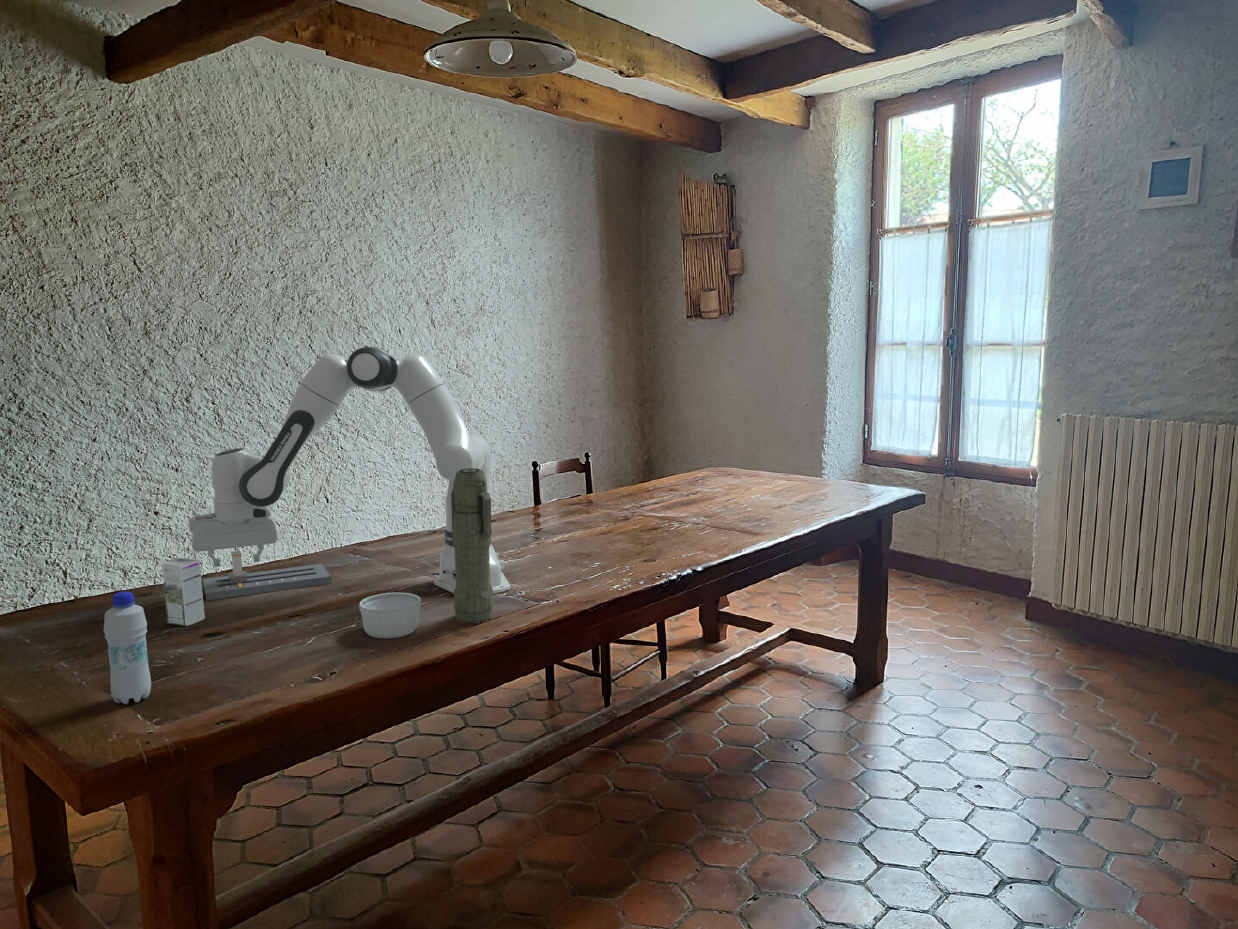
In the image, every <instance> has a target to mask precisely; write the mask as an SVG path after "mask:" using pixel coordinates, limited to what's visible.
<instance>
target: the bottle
mask: <svg viewBox="0 0 1238 929" xmlns="http://www.w3.org/2000/svg"><path fill="white" fill-rule="evenodd" d="M111 602H112V608H110V609H108V610H106V611H105V613H104V625H103V632H104V639H105V640H106V641H107V651H108V661H109V668H110V669H109V670H110V673H109V674H110V679H109V680H110V681H109V683H110V693H111V698H112V699H113V701H114V702H115V703H116V704H121V703H122V704H123V705H128V704H129V703H130V699H133V701H134V703H139V702H140V701H141V700H142V699H143V700H146V699H147V698H148V697H149V695H150V693H151V688H152V679H151V673H150V668H149V667H150V666H149V659H148V658H149V657H148V648H147V637H146V635H147V632H148V629H147V626H148V622H147V619H146V615H145V612H144V611H145V610H144V607H143V606H140V605H138V604H136V603H135V595H134V593H132V592H131V591H120V592H116V593H115V594H113V596H112V598H111Z"/></svg>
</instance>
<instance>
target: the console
mask: <svg viewBox="0 0 1238 929" xmlns="http://www.w3.org/2000/svg"><path fill="white" fill-rule="evenodd" d="M246 574H247V582H240V583H232V584H231V583H230V580H229V575H223V576H222V575H221V576H215V577H206V578H202V582H203V583H202V585H203V586H202V587H203V590H204V594H205V595H206V596H205V595H204V596H205V599H206V601H213V600H221V598H222V599H228V598H227V597H229V598H236V597H241V596H240V595H244V596H251V595H257V594H258V595H259V594H265V593H271V592H278V591H279V592H280V591H287V590H292V589H293V590H294V589H300V588H308V587H315V586H322V585H331V584H332V575H331V574H330V573H329V571H328V570H327V569H326V568H325V566H324V565H323V563H318V564H311V565H310V564H309V565H304V566H294V567H287V568H278V569H271V570H262V571H255V572H246ZM235 596H236V597H235Z"/></svg>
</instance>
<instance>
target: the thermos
mask: <svg viewBox="0 0 1238 929" xmlns="http://www.w3.org/2000/svg"><path fill="white" fill-rule="evenodd" d="M453 488H454V489H453V491H452V493H451V510H452V543H453V547H454V549H455V572H456V587H455V590H454V593H453V608H454V611H455V616H454V619H455V621H456V620H457V621H456V622H458V621H459V622H458V623H460V622H463V623H462V624H465V623H477V624H479V623H478V622H483V621H486V620H488V619H491V618H492V619H493V617H492V616H494V615H493V608H494V594H493V589H492V586H491V584H490V556H489V547H490V545H492V534H493V532H492V499H491V496H490V493H489V492H488V493H487V481H486V478H485V475H484V472H483V471H481V470H480V469H474V468H469V469H461V470H460V471H458V472H457V473H456V476H455V479H454V483H453ZM492 619H491V620H492ZM486 622H487V621H486ZM483 623H484V622H483Z"/></svg>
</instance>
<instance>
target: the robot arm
mask: <svg viewBox="0 0 1238 929" xmlns="http://www.w3.org/2000/svg"><path fill="white" fill-rule="evenodd" d="M357 387H358V388H362V389H364V390H366V391H369V392H385V391H387V390H389V389H391V388H392V387H393V388H395V389H396V390H397V391H398V392H399V393H400V395H401V396H402V398H403V399H404V401H405V403H406V404H407V406H408V407H409V409H410V411H411V413H412V414H413V416H414V418H415V419H416V421H417V422H418V424H419V426H420V427H421V429H422V431H423V432H424V435H425V437H426V440H427V443H428V445H429V447H430V450H431V452H432V454H433V457H434V459H435V462H436V463H435V466H436V468H437V471H438V474H440V475H441V477H442V478H444V479H446V480H447V481H448V485H447V492H446V497H445V502H444V503H445V529H444V543H445V545H444V548H443V549H442V551H441V552H440V553H439V577H438V578H436V579H434V581H433V584H434V585H435V586H437V587H439V588H441V589H444V590H446V591H447V592H450V593H452V594H454V590H455V587H456V572H455V549H454V547H453V543H452V510H451V493H452V491H453V489H454V488H453V483H454V479H455V476H456V473H457V472H458V471H460V470H461V469H469V468H474V469H480V470H481V471H483V472H484V475H485V478H486V481H487V493H489V487H490V486H489V485H490V476H491V459H492V448H491V446H490V443H489V442H488V441H487V440H486V439H485V438H484V437H482V436H480V435H477V434H473V433H469V430H468V429H467V426H466V423H465V421H464V419H463V416H462V411H461V408H460V407H459V405H458V403H457V402H456V400H455V398H454V396H453V395H452V394H451V392H450V390H449V388H448V387H447V385H446V383H445V382H444V381H443V379H442V378H441V377H440V375H439V373H438V372H437V371H436V369H435V368H434V367H433V365H432V364H430V362H429V360H427V359H426V358H425V357H424V356H423V355H421V354H416V353H415V354H414V353H413V354H408V355H405V356H403V357H401V358H398V359H396V358H395V357H394V356H391V355H390V354H389V353H387V352H386V351H385V350H383V349H380V348H377V347H375V346H374V347H372V346H362V347H360V348H358V349H356V350H354V351H353V352H352V353H351V354H350V355H349V357H348V358H346V357H344V356H342V355H340V354H335V353H326V354H324V355H322V356H321V357H320V358H319V359H318V360H317V361H316V362H315V363H314V364H313V365H312V367H311V368H310V369H309V370H308V372H307V373H306V374H305V376H304V378H303V379H302V380H301V382H300V384H299V385H298V387H297V389H296V391H295V393H294V395H293V397H292V400H291V402H290V404H289V407H288V411H287V413H286V415H285V416H286V417H285V419H284V421H283V424H282V426H281V428H280V430H279V433H278V434H277V436H276V437H275V439H274V440H273V442H272V444H271V445H270V446H269V448H268V450H267V452H266V453H265V454H264V456H263V457H261V456H258V455H255V454H253V453H251V452H248V451H247V450H246V448H245V449H244V448H231V449H227V450H223V451H220V452H218V453H217V454H216V455H214V457H213V458H212V463H211V483H212V484H211V485H212V488H213V491H214V497H213V508H214V509H213V512H214V513H205V514H197V515H196V514H195V515H194V516H193V517H191V518H190V519H189V520H188V530H189V531H190V532H191V548H192V550H193V551H195V552H199V553H200V552H207V554H208V557H210V558H211V560H212V561H213V567H221V559H220V557H219V558H216V557H215V555H214V554H215V551H216V550H225V549H236V548H242V547H253V546H256V547H257V549H258V550H257V552H256V553H254V554H252V557H253V563H257V562H258V563H259V562H260V561H261V556H260V555H261V554H262V553H263V550H264V547H265V545H270V544H276V543H277V542H278V539H279V537H278V530H277V525H276V522H275V520H274V519H273V517H272V512H271V508H270V507H269V506H271V505H273V504H275V503H277V501H278V500H279V499H280V498H281V496H282V493H283V492H284V491H285V490H286V488H287V486H288V484H289V482H290V475H289V474H290V473H289V470H288V469H289V467H290V466H291V465H292V463H293V461H294V460H295V458H296V457H297V455H298V454H299V452H300V450H301V449H302V447H303V446H304V445H305V444H306V442H307V441H308V440H309V439H310V438H311V437H313V435H314V434H316V432H318V431H319V430H320V429H322V427H323V426H324V425H326V424H327V423H328V422H329V421H330V420H331V418H332V417H333V416H334V414H335V413H336V412H337V411H338V410H339V408H340V406H341V405H342V403H343V401H344V399H345V397H346V396H347V394H348V393H349V392H350V391H351V390H352V389H355V388H357ZM489 556H490V584H491V586H492V589H493V595H495V594H499V593H503V592H507V591H509V590H511V584H510V582H509V581H508V579H507V578H506V576H505V575H504V573H503V572H502V569H503V570H504V569H505V561H504V559H499V552H496V551H495V549H494V546H493V545H492V544H491V545H490V547H489ZM506 590H507V591H506Z"/></svg>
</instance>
